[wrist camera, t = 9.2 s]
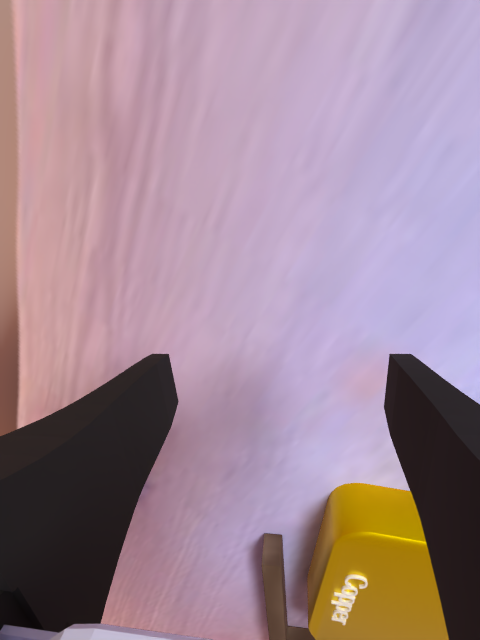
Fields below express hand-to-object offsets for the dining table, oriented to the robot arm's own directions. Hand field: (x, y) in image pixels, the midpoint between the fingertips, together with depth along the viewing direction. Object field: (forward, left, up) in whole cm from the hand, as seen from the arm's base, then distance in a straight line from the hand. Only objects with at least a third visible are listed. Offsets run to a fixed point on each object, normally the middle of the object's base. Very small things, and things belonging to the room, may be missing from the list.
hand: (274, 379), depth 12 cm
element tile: (-9, +24, -10) cm, 28 cm away
